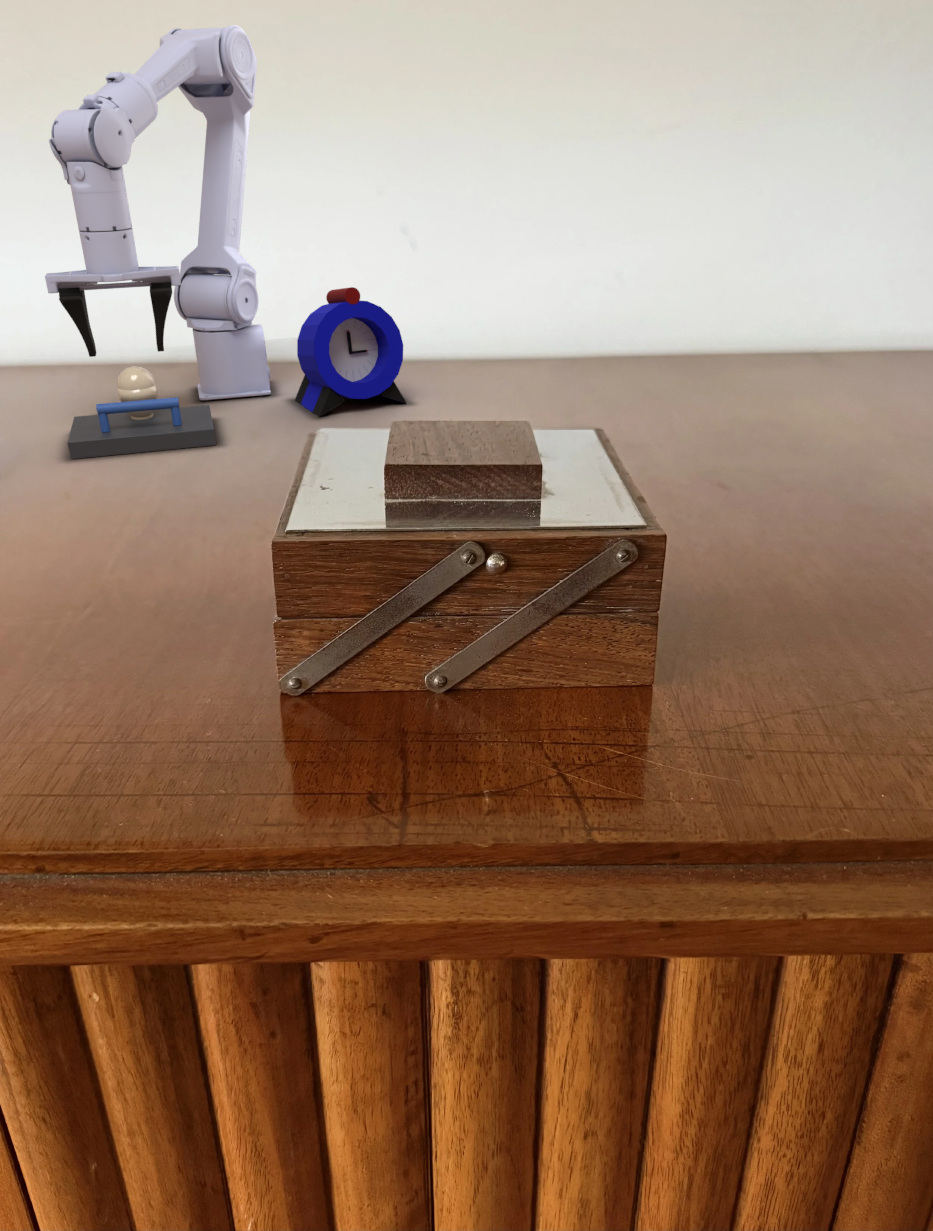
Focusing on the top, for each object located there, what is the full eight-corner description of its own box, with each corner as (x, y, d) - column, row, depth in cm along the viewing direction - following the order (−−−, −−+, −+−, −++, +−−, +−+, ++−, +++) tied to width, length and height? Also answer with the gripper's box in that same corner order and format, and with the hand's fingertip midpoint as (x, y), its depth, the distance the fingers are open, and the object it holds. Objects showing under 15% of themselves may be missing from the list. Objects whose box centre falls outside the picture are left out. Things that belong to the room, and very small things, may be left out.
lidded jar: (150, 409, 121) (142, 360, 119) (167, 416, 118) (159, 366, 116) (116, 416, 119) (107, 366, 116) (133, 424, 116) (124, 373, 113)
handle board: (211, 420, 124) (205, 378, 122) (216, 445, 114) (210, 400, 112) (77, 432, 120) (68, 390, 118) (70, 459, 111) (61, 413, 108)
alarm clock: (321, 418, 124) (310, 294, 117) (289, 396, 133) (278, 280, 127) (409, 405, 129) (404, 285, 122) (373, 384, 138) (366, 272, 132)
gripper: (33, 236, 105) (59, 364, 111) (173, 229, 109) (191, 354, 115) (39, 229, 111) (64, 351, 117) (172, 223, 115) (189, 342, 121)
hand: (127, 352), depth 117 cm, fingers open, 7 cm apart
